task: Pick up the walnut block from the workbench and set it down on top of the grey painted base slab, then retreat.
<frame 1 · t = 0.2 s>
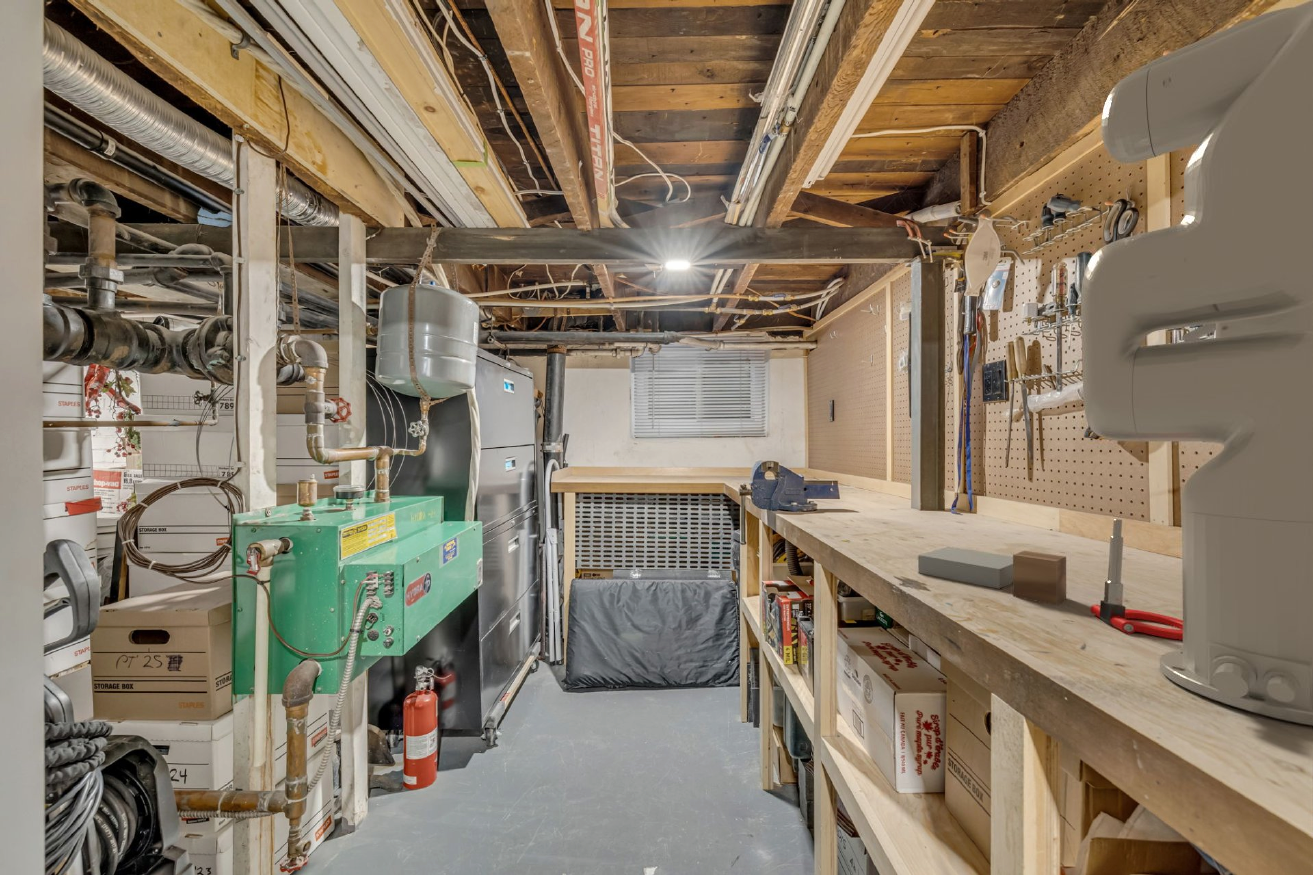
hand: (1269, 383, 73), 31 cm above the worktop, tool pointing down, fingers open, 9 cm apart
walnut block: (1039, 597, 73), on the worktop
red and grey piece: (1150, 629, 61), on the worktop
base slab: (971, 574, 85), on the worktop
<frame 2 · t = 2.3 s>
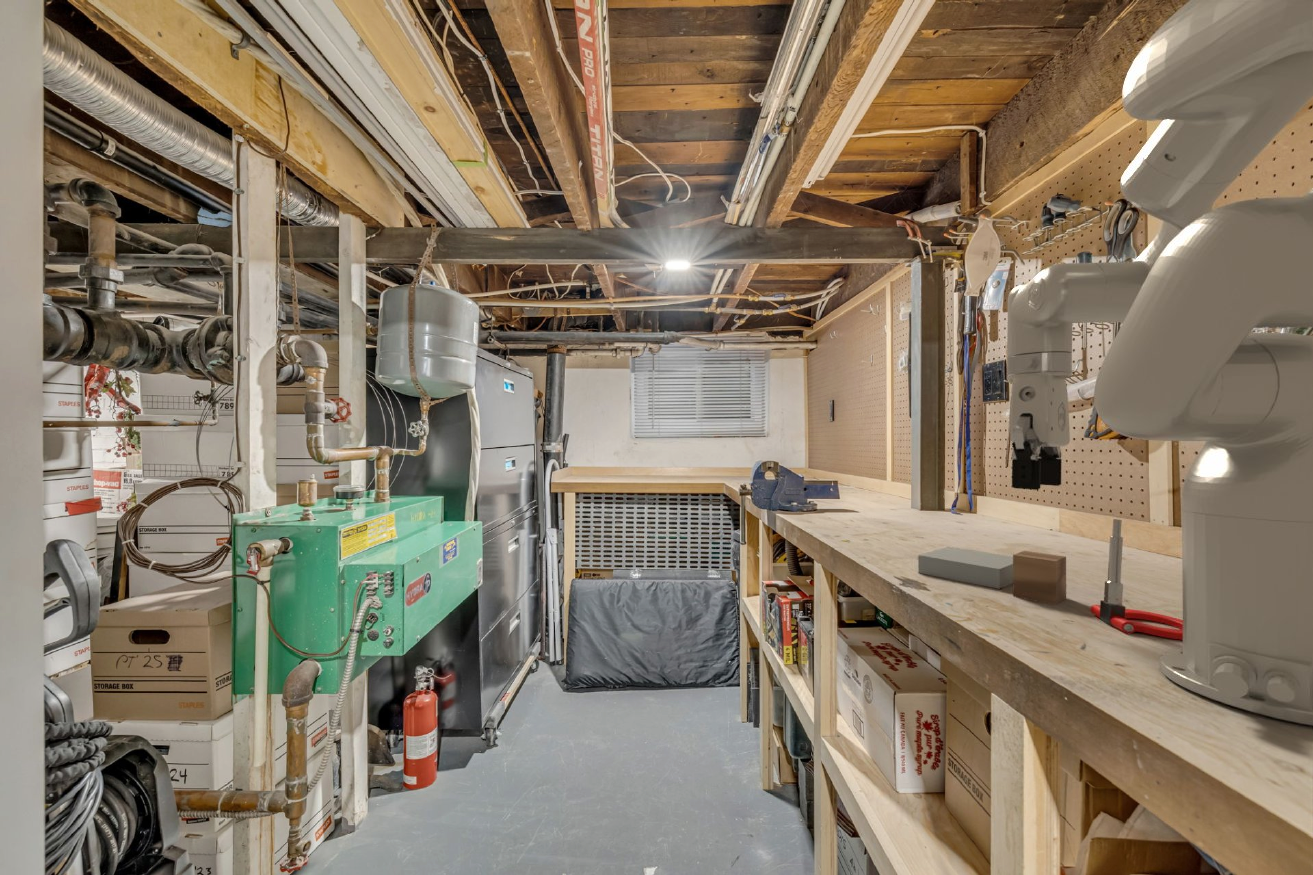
hand: (1037, 486, 74), 16 cm above the worktop, tool pointing down, fingers open, 9 cm apart
nothing on the worktop moved.
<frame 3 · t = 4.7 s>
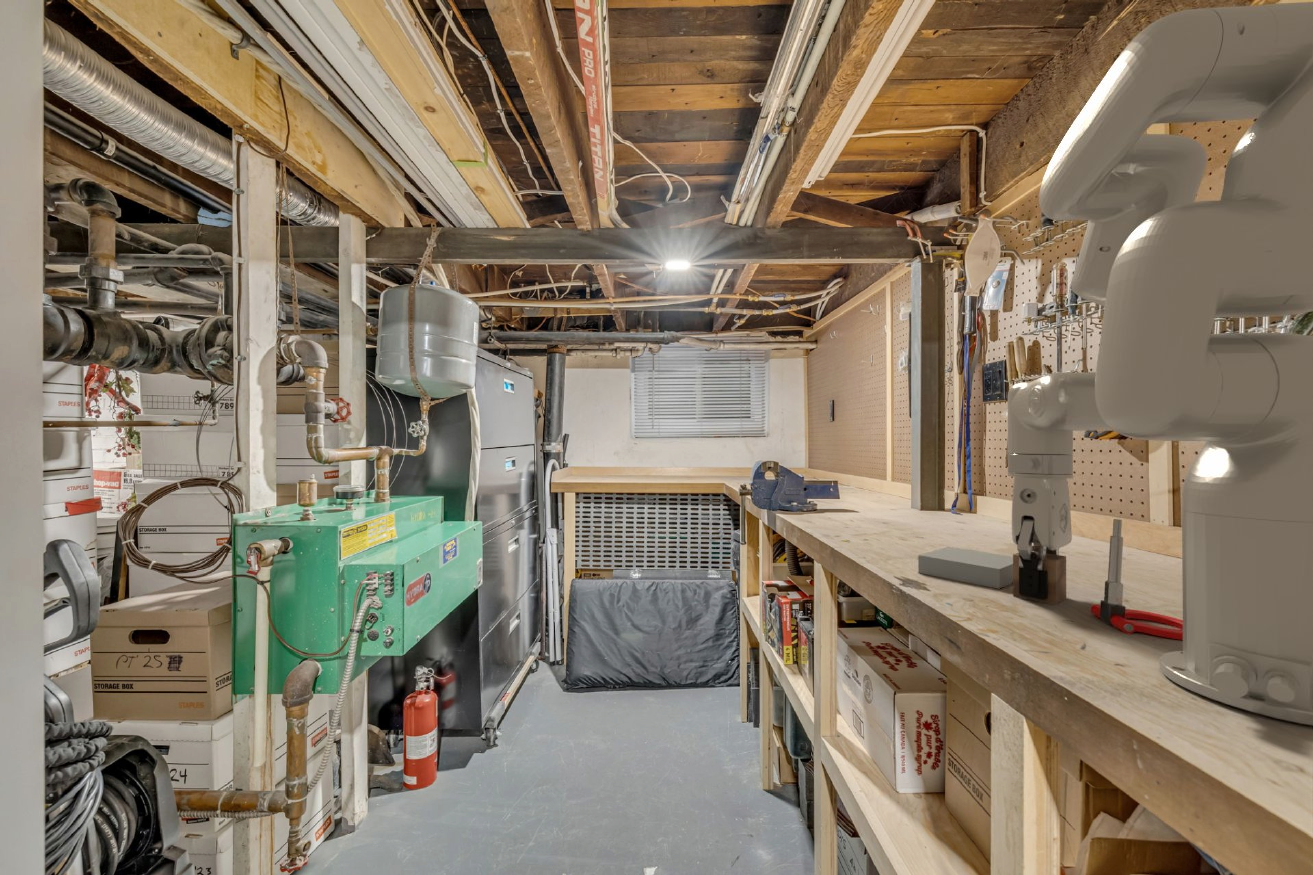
hand: (1039, 592, 73), 1 cm above the worktop, tool pointing down, fingers closed on walnut block, 5 cm apart
walnut block: (1039, 597, 73), on the worktop, touching gripper
everything else where it was.
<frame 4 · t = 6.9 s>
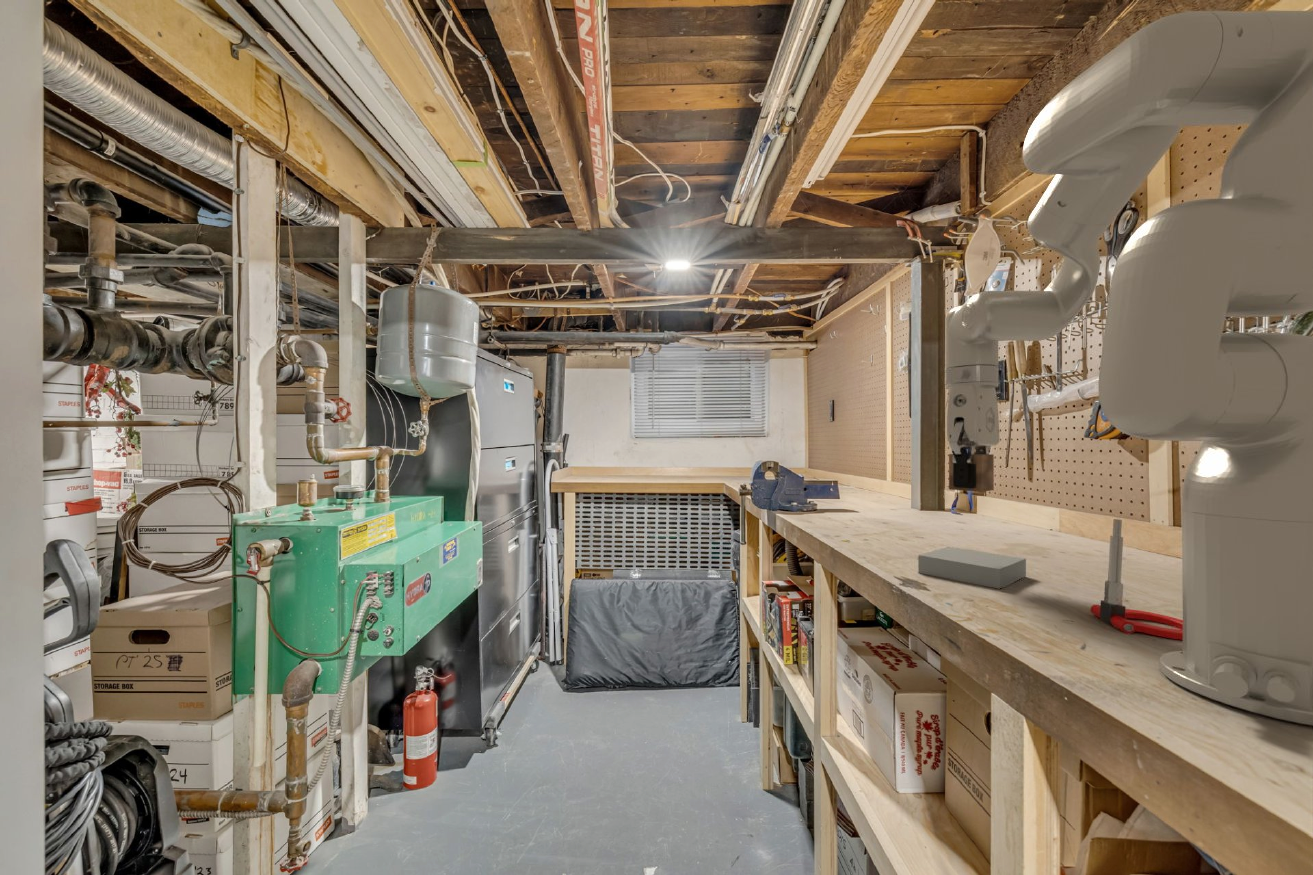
hand: (971, 485, 85), 15 cm above the worktop, tool pointing down, fingers closed on walnut block, 5 cm apart
walnut block: (971, 489, 85), point 14 cm above the worktop, touching gripper
everything else where it was.
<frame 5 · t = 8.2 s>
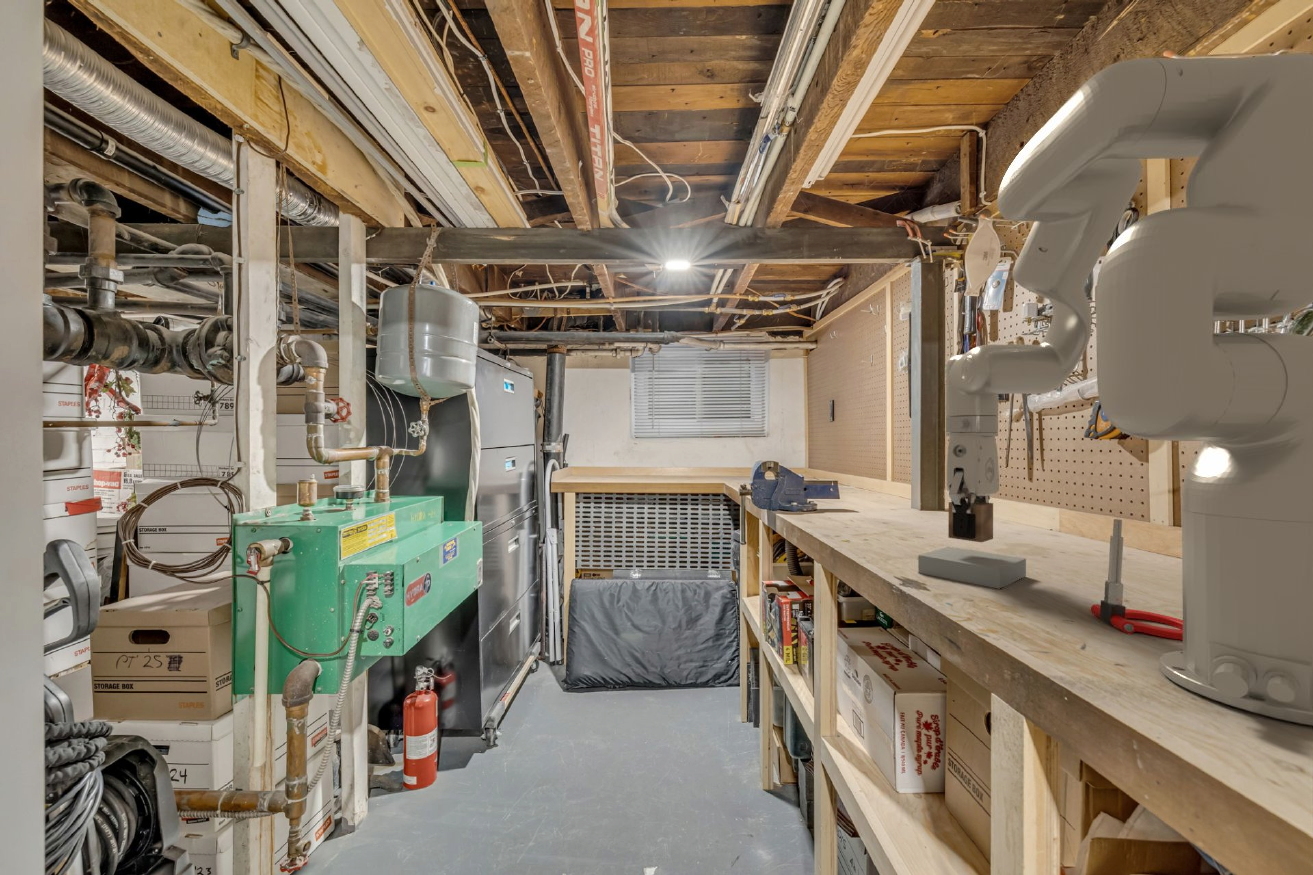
hand: (970, 534, 85), 7 cm above the worktop, tool pointing down, fingers closed on walnut block, 5 cm apart
walnut block: (970, 538, 86), point 6 cm above the worktop, touching gripper
everything else where it was.
when the fingers open (5 cm above the worktop, at t = 9.4 s): walnut block drops 1 cm, resting on base slab.
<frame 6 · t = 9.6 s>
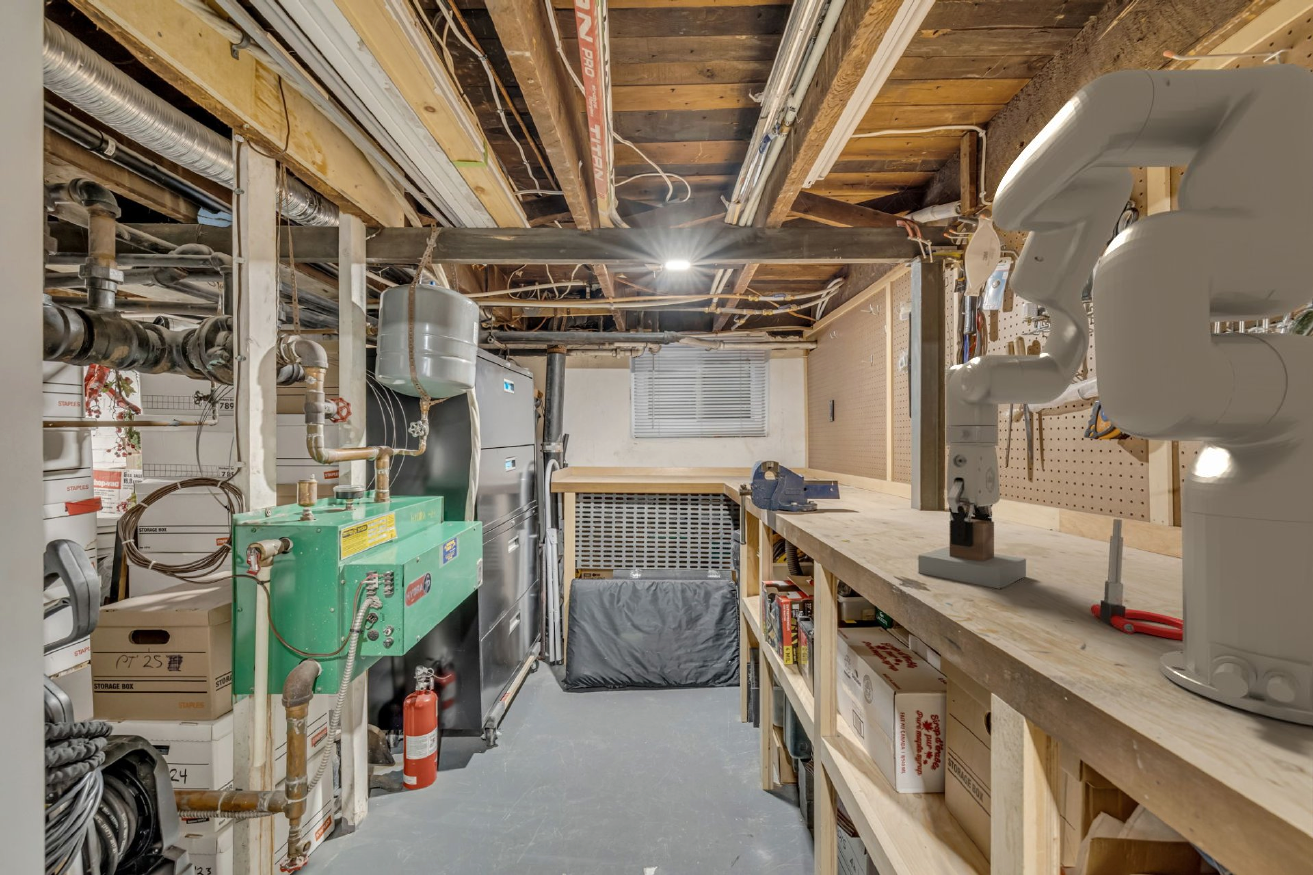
hand: (971, 542, 85), 5 cm above the worktop, tool pointing down, fingers open, 7 cm apart
walnut block: (971, 556, 85), point 3 cm above the worktop, touching base slab
everything else where it was.
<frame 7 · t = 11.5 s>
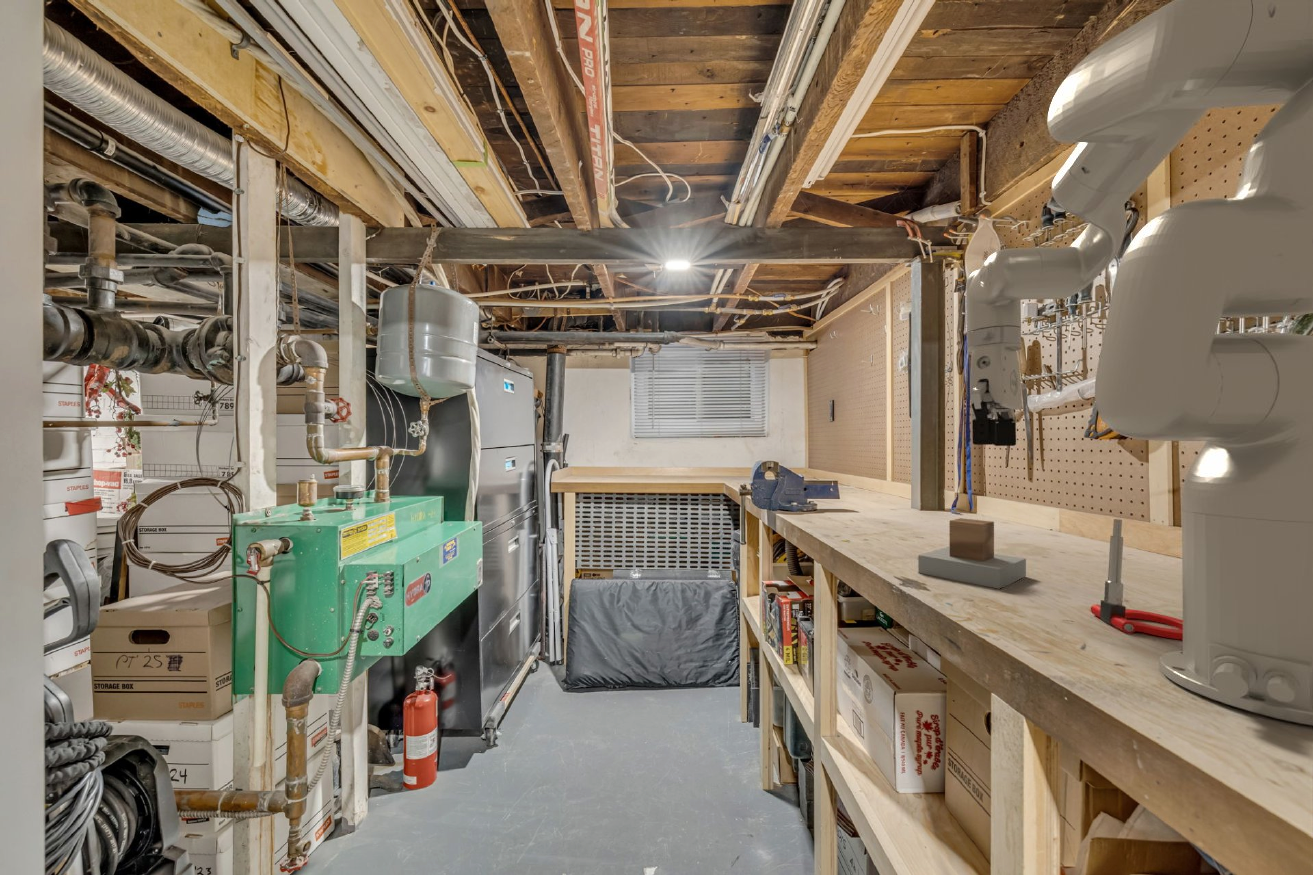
hand: (994, 445, 84), 22 cm above the worktop, tool pointing down, fingers open, 9 cm apart
nothing on the worktop moved.
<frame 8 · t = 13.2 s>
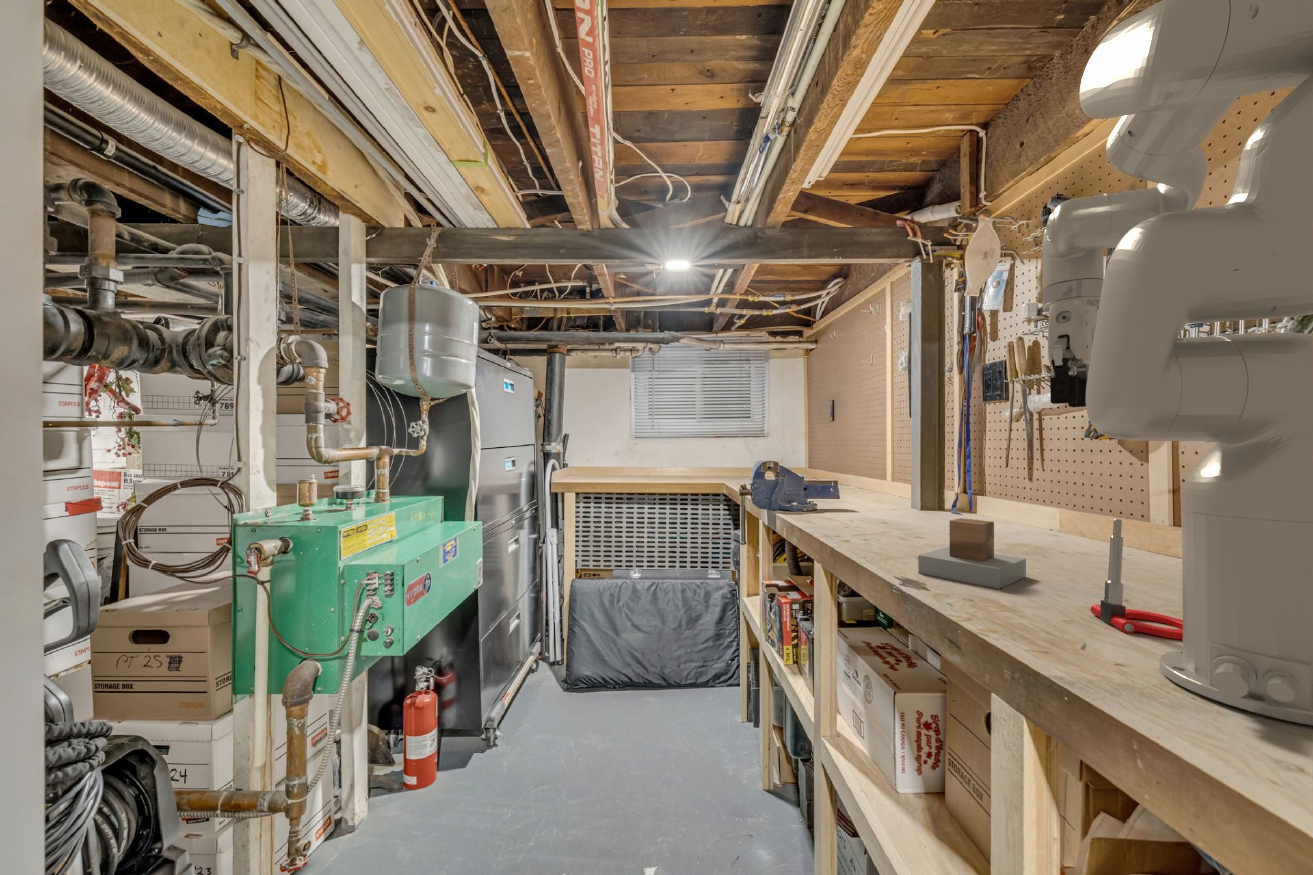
hand: (1072, 404, 81), 28 cm above the worktop, tool pointing down, fingers open, 9 cm apart
nothing on the worktop moved.
at the end: walnut block inside the target area on the base slab (0.1 cm from its centre), point 3.0 cm above the base slab's base; walnut block tilted 0°; the gripper is holding nothing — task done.
